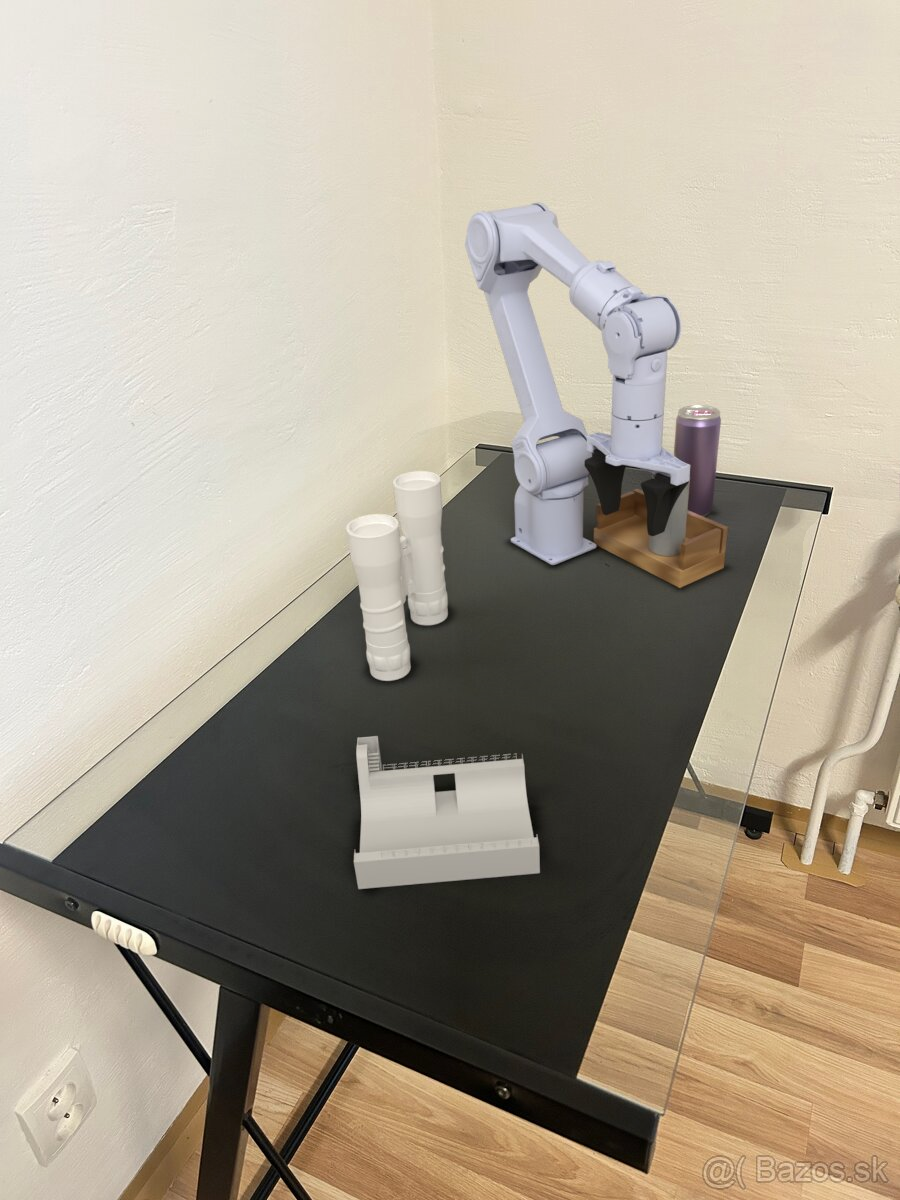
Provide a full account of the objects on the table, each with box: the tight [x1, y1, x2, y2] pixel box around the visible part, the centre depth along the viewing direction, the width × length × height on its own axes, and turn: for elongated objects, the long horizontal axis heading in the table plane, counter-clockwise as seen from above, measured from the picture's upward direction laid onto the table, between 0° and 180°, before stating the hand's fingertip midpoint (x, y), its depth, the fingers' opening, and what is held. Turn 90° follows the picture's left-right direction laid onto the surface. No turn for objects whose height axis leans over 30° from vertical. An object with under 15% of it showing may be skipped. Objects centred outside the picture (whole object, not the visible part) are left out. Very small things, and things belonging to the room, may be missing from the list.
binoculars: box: [345, 470, 449, 682], centre depth 99 cm, size 17×5×18 cm, turn 159°
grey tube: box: [649, 473, 690, 556], centre depth 111 cm, size 4×4×10 cm
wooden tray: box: [593, 488, 729, 589], centre depth 116 cm, size 16×8×6 cm, turn 34°
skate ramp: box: [353, 735, 541, 890], centre depth 77 cm, size 15×13×5 cm
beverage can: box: [673, 404, 722, 517], centre depth 125 cm, size 6×6×15 cm
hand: (632, 522), depth 105 cm, fingers open, 7 cm apart
